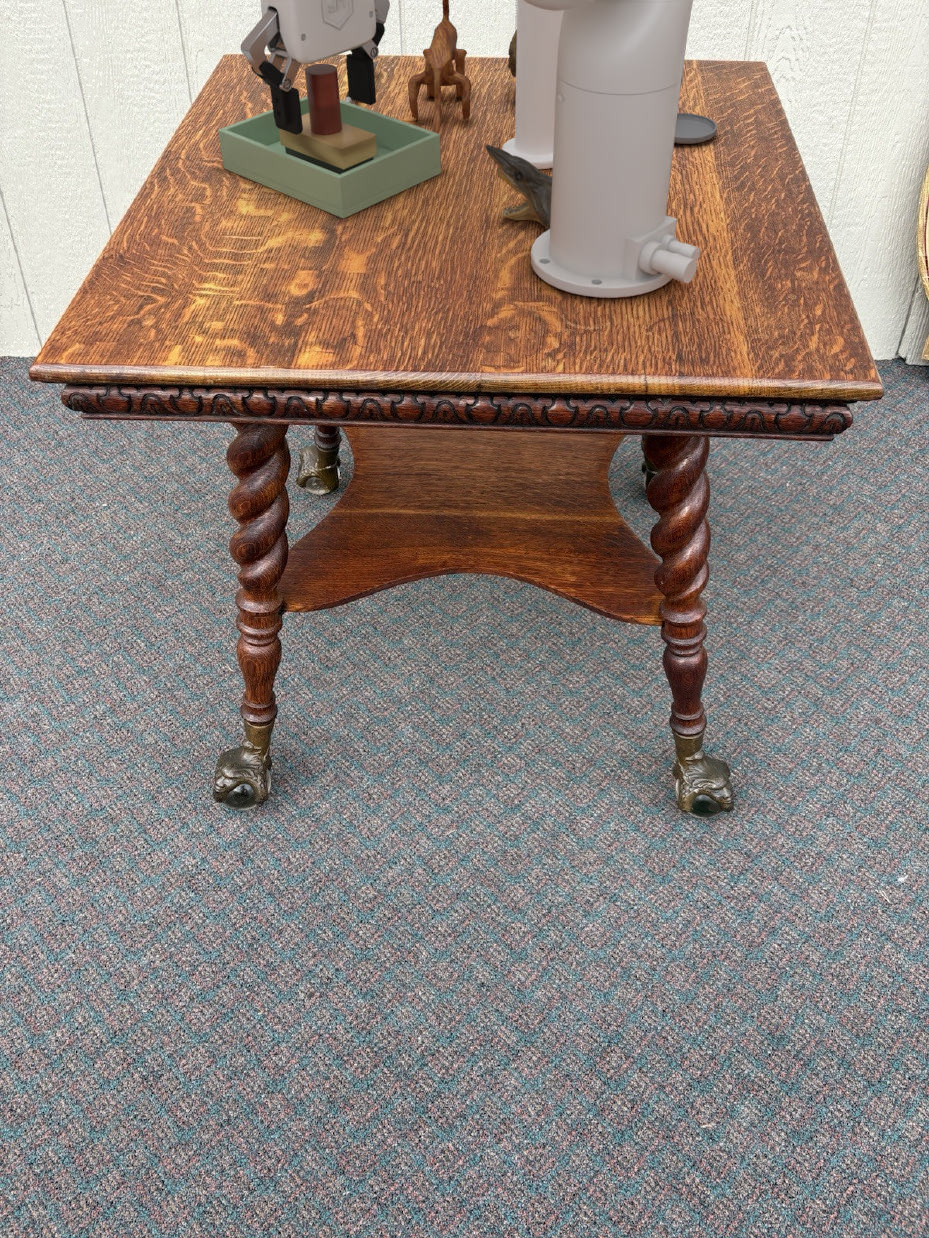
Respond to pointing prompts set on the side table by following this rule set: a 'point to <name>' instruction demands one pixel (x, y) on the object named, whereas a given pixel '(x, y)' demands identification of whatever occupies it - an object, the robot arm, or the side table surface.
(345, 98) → the pocket knife
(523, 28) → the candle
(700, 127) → the dark grey round piece
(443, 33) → the wooden animal figurine
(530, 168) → the shark head
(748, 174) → the side table surface
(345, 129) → the stamp
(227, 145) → the tray
